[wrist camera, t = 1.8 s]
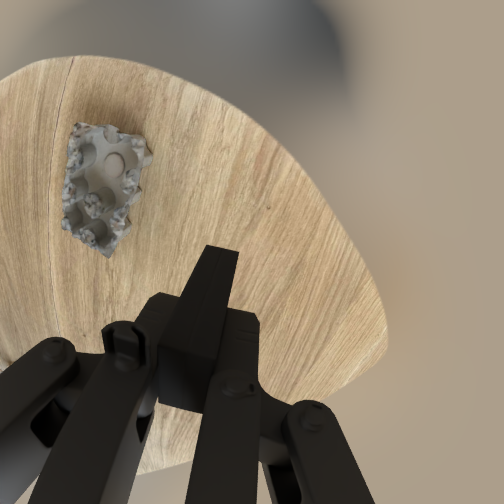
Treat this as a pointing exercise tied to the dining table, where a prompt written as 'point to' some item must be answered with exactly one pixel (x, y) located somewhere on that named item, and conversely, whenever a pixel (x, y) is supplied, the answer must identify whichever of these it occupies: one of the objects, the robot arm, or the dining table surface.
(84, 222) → the egg carton
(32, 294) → the dining table surface
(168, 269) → the dining table surface
